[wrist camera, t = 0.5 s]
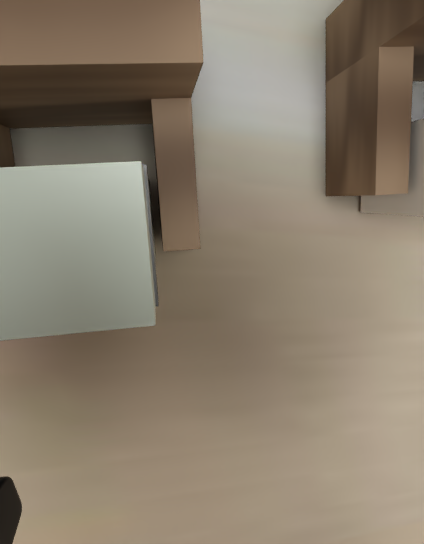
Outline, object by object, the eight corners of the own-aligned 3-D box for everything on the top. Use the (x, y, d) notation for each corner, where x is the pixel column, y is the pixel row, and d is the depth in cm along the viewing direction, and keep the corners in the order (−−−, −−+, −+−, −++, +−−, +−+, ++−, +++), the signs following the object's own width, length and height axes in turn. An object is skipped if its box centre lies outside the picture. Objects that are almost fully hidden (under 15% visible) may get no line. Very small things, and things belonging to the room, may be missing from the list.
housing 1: (190, 236, 21) (214, 265, 12) (-5, 250, 20) (-133, 292, 11) (178, 58, 19) (196, -60, 10) (-36, 61, 18) (-219, -71, 9)
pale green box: (157, 260, 21) (158, 328, 10) (35, 269, 20) (-108, 354, 9) (150, 179, 20) (144, 157, 9) (22, 185, 19) (-151, 170, 8)
